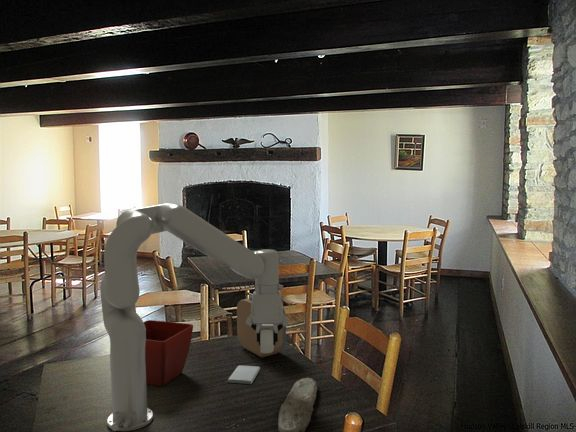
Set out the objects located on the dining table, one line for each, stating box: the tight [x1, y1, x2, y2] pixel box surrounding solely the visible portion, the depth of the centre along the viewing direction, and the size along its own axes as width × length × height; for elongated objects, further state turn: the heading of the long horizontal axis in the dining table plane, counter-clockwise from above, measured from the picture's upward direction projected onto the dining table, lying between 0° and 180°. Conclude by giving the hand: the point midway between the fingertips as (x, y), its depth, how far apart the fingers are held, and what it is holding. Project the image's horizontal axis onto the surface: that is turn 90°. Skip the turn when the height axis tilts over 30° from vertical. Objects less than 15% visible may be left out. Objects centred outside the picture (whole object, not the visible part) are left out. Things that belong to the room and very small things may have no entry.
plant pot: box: [143, 319, 194, 387], centre depth 175 cm, size 19×19×17 cm
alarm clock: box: [236, 294, 287, 358], centre depth 199 cm, size 21×10×22 cm, turn 37°
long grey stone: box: [277, 377, 318, 432], centre depth 152 cm, size 35×5×10 cm
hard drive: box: [227, 365, 261, 385], centre depth 177 cm, size 2×8×12 cm
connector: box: [260, 324, 274, 354], centre depth 166 cm, size 11×4×7 cm, turn 178°
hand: (267, 343), depth 165 cm, fingers closed on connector, 4 cm apart
